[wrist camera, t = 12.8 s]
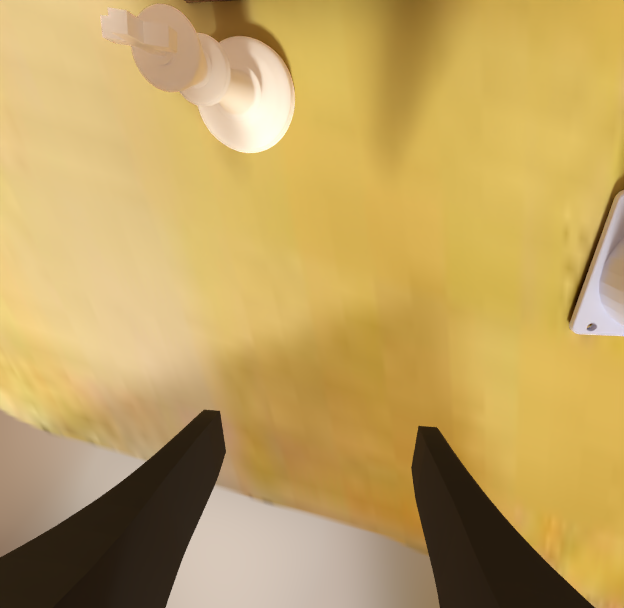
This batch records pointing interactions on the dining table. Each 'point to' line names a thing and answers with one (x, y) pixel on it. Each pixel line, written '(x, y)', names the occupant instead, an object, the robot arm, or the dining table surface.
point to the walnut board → (203, 0)
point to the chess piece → (210, 74)
